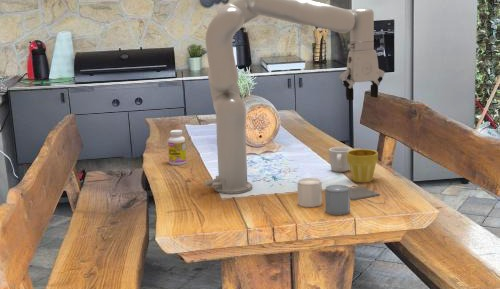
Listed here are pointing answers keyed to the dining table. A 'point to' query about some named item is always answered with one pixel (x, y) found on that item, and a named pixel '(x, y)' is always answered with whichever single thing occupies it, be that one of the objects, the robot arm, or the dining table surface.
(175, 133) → the supplement bottle
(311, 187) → the beaker
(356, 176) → the plant pot
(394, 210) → the dining table surface
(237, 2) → the robot arm
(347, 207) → the beaker
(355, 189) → the coaster
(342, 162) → the cup
